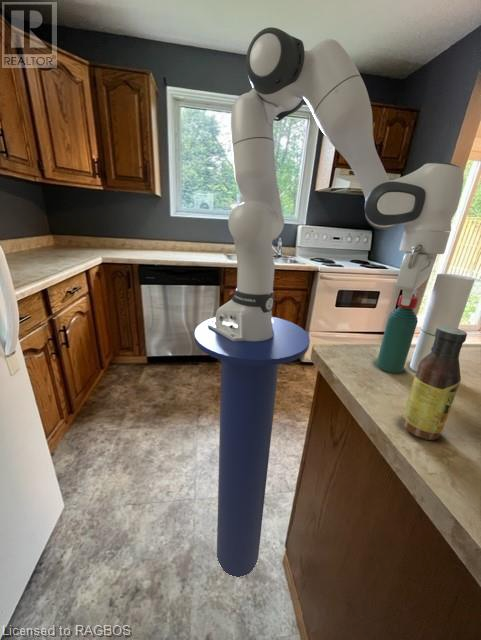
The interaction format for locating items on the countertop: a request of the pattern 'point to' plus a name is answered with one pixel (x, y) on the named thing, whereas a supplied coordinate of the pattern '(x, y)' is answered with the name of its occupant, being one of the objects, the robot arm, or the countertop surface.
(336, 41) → the robot arm
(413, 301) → the cap
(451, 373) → the sauce bottle
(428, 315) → the cylindrical container
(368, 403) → the countertop surface
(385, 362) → the water bottle
